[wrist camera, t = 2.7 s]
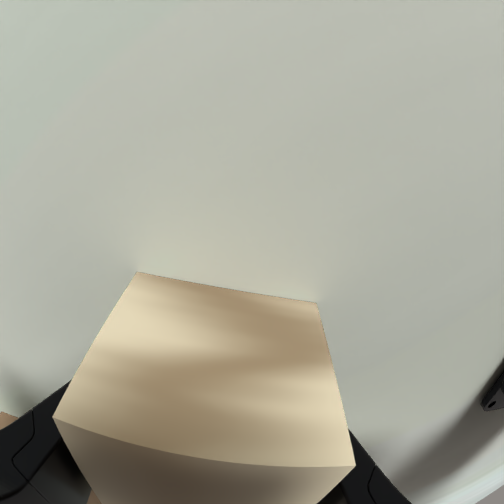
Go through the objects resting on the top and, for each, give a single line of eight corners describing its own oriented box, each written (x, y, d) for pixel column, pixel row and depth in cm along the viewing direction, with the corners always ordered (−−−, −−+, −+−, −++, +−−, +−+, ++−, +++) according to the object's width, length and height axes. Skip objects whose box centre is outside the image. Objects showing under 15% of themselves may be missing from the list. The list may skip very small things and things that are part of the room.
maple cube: (316, 303, 9) (355, 465, 4) (275, 410, 11) (279, 534, 6) (136, 271, 8) (51, 416, 4) (140, 388, 10) (103, 506, 6)
